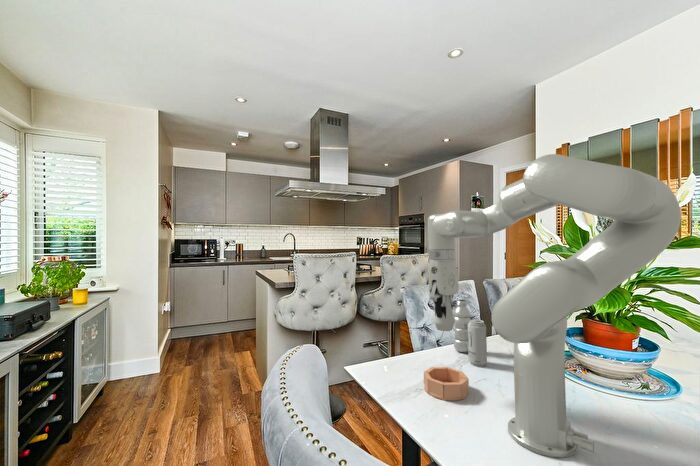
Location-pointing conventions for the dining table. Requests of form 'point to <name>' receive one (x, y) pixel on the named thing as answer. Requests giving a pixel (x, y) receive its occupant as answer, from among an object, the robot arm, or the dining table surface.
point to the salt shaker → (444, 323)
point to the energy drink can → (477, 343)
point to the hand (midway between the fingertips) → (444, 318)
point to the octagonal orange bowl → (446, 383)
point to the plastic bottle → (461, 326)
